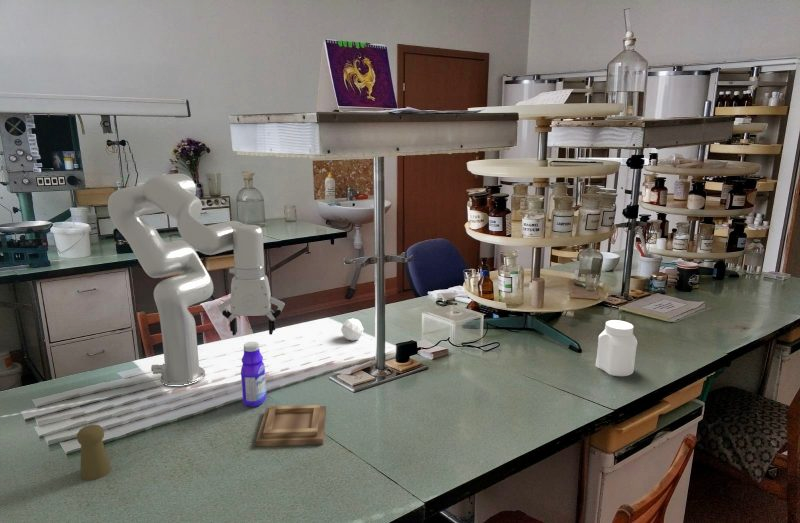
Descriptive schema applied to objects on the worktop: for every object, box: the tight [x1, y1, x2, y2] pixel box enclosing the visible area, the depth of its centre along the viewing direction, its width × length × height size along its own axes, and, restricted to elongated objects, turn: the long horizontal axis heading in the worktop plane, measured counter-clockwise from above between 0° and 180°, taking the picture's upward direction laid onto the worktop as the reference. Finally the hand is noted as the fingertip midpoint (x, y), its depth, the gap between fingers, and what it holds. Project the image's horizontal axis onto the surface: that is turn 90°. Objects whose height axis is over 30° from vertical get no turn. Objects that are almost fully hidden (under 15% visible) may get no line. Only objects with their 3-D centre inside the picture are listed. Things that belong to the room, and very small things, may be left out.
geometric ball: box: [341, 317, 365, 342], centre depth 201 cm, size 8×8×8 cm
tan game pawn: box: [76, 424, 112, 481], centre depth 125 cm, size 6×6×11 cm
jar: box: [595, 319, 638, 377], centre depth 180 cm, size 12×10×15 cm
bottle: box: [240, 341, 267, 408], centre depth 156 cm, size 7×6×17 cm
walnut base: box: [255, 404, 327, 447], centre depth 145 cm, size 16×16×3 cm
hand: (253, 333), depth 153 cm, fingers open, 9 cm apart
